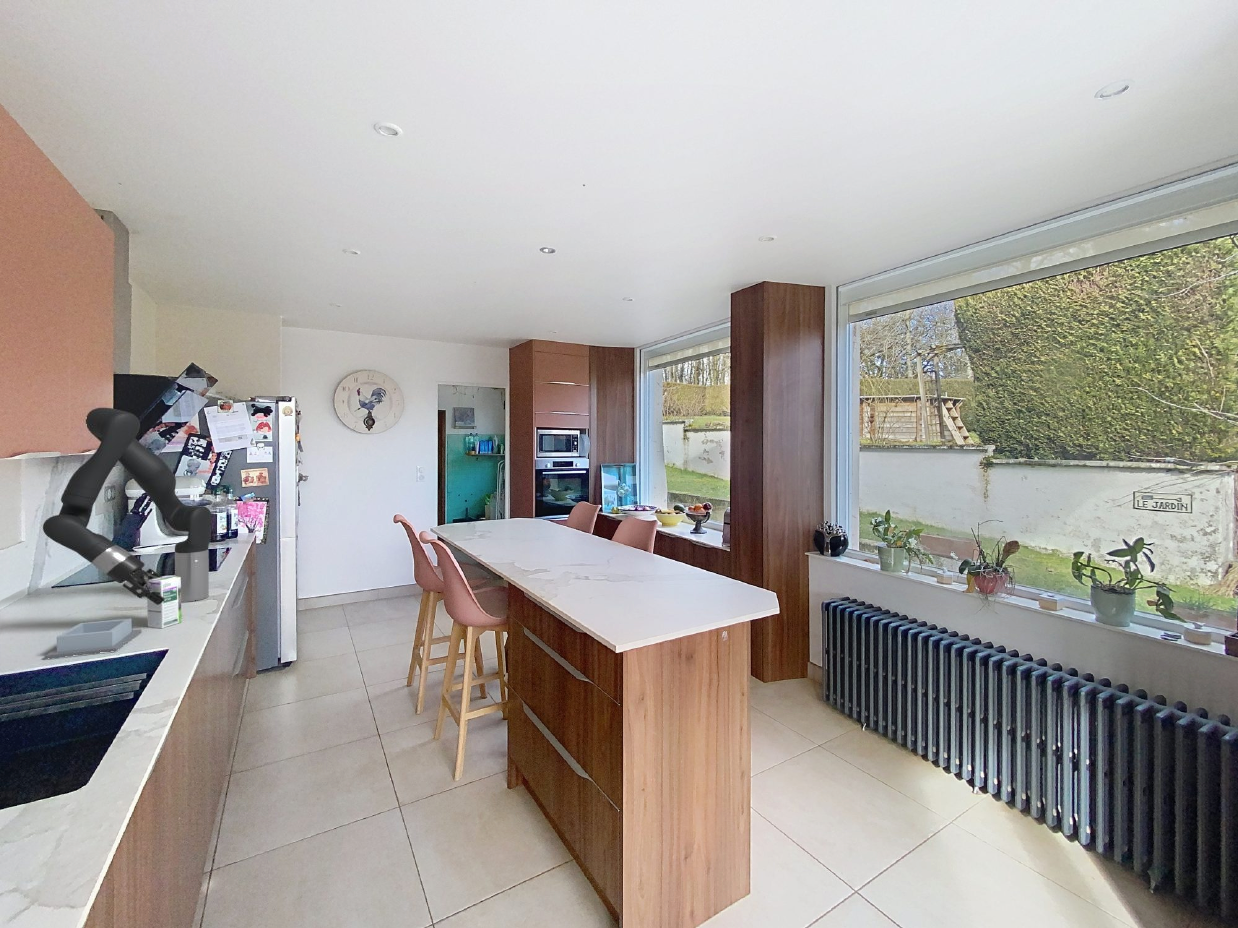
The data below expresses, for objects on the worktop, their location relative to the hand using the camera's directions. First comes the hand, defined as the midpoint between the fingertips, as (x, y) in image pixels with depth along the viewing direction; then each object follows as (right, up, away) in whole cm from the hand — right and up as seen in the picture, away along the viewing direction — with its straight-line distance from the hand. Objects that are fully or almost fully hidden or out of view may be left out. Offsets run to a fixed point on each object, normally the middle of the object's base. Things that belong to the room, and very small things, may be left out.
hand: (167, 598), depth 157 cm
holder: (-5, -9, -16) cm, 19 cm away
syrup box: (-1, -8, 0) cm, 8 cm away
